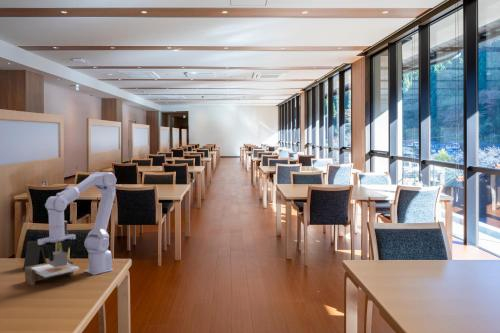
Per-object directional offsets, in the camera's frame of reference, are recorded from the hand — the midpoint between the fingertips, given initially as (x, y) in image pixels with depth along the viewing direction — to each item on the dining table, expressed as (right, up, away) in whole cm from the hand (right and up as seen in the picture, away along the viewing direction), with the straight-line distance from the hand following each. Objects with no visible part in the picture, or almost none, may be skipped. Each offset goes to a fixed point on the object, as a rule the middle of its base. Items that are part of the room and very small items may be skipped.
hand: (57, 259), depth 186 cm
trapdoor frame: (-6, -10, +7) cm, 13 cm away
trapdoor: (-2, -5, +2) cm, 6 cm away
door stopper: (-21, -9, +25) cm, 34 cm away
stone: (0, -2, 0) cm, 2 cm away
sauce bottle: (-11, -8, +32) cm, 35 cm away
